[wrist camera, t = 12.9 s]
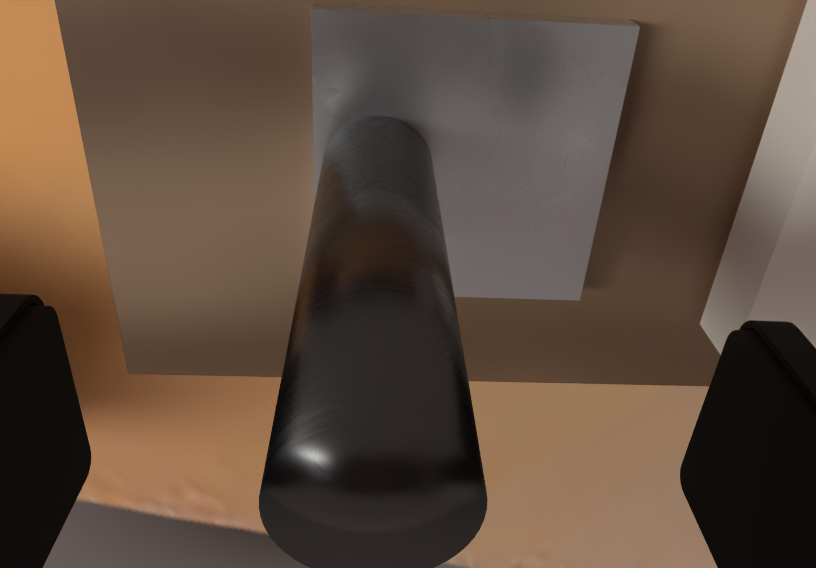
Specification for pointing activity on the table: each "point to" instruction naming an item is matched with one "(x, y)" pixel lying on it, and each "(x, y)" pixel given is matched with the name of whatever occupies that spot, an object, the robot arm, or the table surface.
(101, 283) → the table surface
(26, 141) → the table surface
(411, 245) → the grey plate with peg
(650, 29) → the walnut block
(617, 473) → the table surface
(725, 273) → the tile
